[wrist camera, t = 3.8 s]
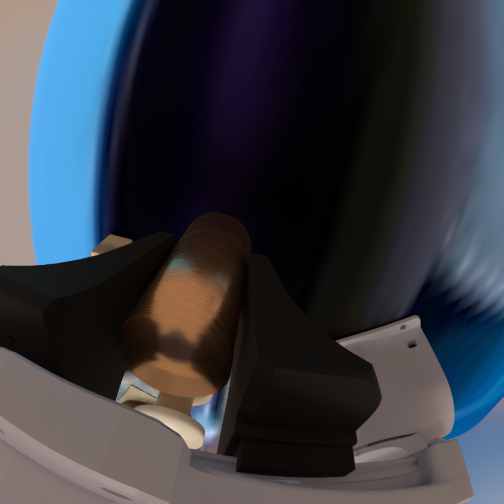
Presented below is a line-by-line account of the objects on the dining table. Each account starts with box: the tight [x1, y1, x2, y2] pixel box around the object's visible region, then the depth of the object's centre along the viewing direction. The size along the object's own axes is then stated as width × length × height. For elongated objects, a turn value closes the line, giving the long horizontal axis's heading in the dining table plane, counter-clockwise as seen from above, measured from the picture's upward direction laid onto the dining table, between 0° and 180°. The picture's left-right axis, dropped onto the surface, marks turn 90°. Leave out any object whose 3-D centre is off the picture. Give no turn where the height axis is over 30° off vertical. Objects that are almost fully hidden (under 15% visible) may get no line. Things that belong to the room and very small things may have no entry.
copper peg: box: [117, 213, 251, 398], centre depth 10 cm, size 3×3×7 cm
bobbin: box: [134, 386, 213, 449], centre depth 21 cm, size 6×6×6 cm
